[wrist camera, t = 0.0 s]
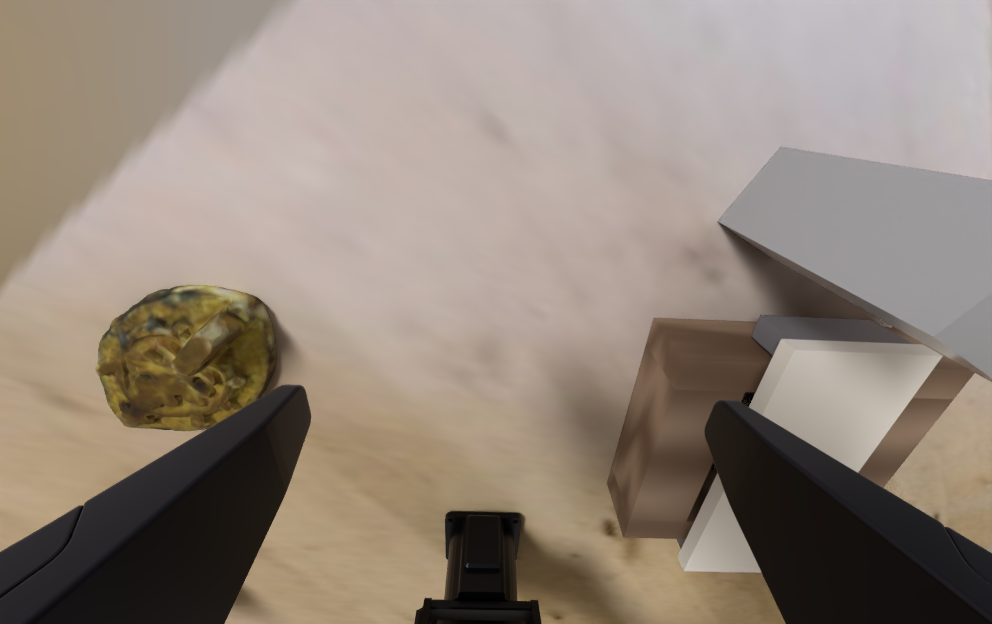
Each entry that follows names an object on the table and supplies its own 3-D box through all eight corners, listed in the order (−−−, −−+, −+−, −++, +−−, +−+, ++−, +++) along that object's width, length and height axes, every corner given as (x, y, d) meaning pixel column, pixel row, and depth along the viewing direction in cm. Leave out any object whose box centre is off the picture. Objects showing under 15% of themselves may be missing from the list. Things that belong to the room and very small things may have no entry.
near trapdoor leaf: (751, 314, 22) (794, 349, 19) (880, 320, 22) (943, 355, 19) (701, 436, 26) (729, 480, 23) (808, 439, 26) (849, 484, 23)
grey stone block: (772, 258, 23) (1017, 396, 12) (717, 221, 21) (933, 337, 11) (837, 191, 21) (1192, 283, 10) (780, 146, 20) (1113, 199, 9)
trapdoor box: (797, 488, 32) (839, 542, 28) (607, 483, 32) (623, 537, 28) (899, 327, 25) (976, 370, 21) (653, 317, 24) (684, 359, 20)
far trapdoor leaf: (755, 526, 31) (784, 573, 28) (664, 523, 31) (683, 571, 28) (806, 442, 26) (847, 487, 23) (699, 439, 26) (727, 484, 23)
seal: (211, 437, 31) (322, 330, 26) (175, 493, 27) (298, 379, 22) (75, 377, 27) (178, 236, 22) (9, 433, 23) (116, 276, 18)
